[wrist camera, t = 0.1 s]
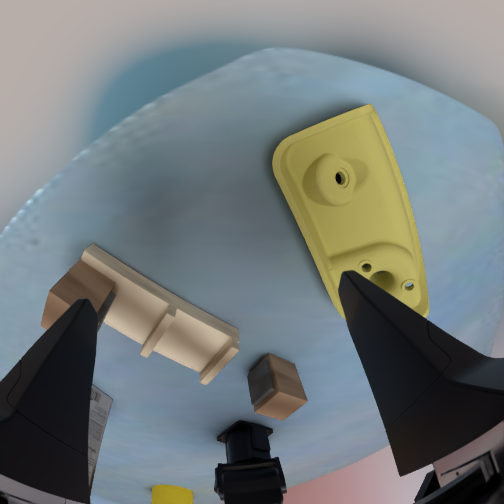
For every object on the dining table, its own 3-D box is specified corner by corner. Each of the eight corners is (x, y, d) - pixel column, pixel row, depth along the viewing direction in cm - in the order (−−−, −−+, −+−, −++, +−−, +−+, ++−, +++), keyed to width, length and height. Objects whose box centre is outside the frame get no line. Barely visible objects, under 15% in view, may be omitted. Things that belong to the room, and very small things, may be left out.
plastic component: (261, 149, 20) (383, 99, 15) (281, 140, 26) (372, 103, 21) (346, 340, 26) (440, 316, 21) (349, 297, 32) (426, 275, 27)
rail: (208, 363, 29) (208, 419, 22) (73, 288, 24) (39, 332, 17) (238, 329, 28) (246, 385, 21) (92, 243, 23) (52, 280, 16)
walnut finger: (273, 383, 32) (283, 420, 27) (244, 372, 31) (250, 410, 25) (294, 364, 31) (307, 401, 26) (265, 351, 30) (274, 389, 24)
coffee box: (87, 415, 32) (65, 497, 17) (55, 392, 30) (23, 473, 15) (115, 399, 31) (92, 497, 16) (78, 372, 28) (40, 470, 13)
